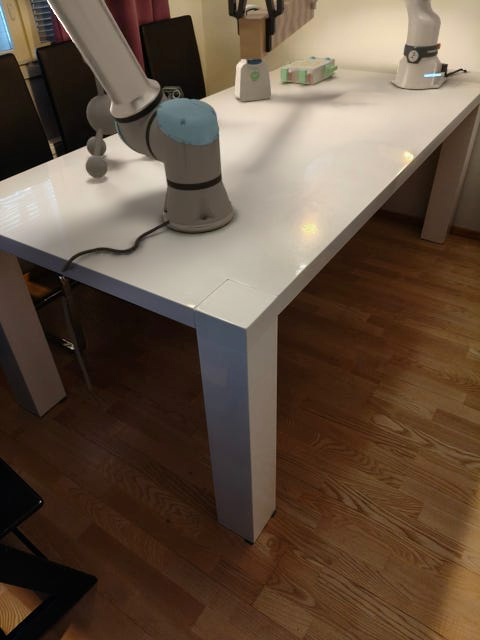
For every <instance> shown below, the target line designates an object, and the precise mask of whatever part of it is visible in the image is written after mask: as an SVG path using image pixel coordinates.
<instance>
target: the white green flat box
mask: <svg viewBox="0 0 480 640" xmlns="http://www.w3.org/2000/svg"><path fill="white" fill-rule="evenodd" d="M285 63H286V64H285V65H283V67H282V68H280V82H287V83H296V84H304V85H316V84H317V83H320V82H322V81H324V80H326V79H329V78H331V77H332V75H333V74H335V72H336V71H337V70H338V65H336V58H330V57H315V56H310V57H308V58H305V59H299V60H296V61H293V62H291V61H286V62H285Z"/></svg>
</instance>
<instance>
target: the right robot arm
mask: <svg viewBox="0 0 480 640" xmlns="http://www.w3.org/2000/svg"><path fill="white" fill-rule="evenodd" d="M318 1H319V0H315V1H314V2H313V3H311V10H314V11H315V10H316V9H317V3H318ZM402 1H403V3H404V5H405V8H406V11H407V18H408V21H407V22H408V23H407V24H408V25H407V35H406V42H405V44H404V47H403V53H402V54H403V57H402V58H400V60H399V62H398V66H397V71H396V75H395V79H392V80H391V83H392V84H394V85H395V86H396V87H398V88H402V89H407V90H408V89H409V90H427V89H438V88H440V87H441V86H442V85H443V84H444V83H445V82H446V80H447V77H448V76H452V75H454V74H457V73H459V72H463V73H468V71H467V69H465V70H463V69H462V68H459V69H456V70H454V71H451V72H448V67H449V64H448V63H443V62H441V60H440V58H439V57H438V55H439V50H440V49H441V43H440V42H438V41H439V36H440V32H441V31H440V30H441V25H442V24H441V23H442V22H441V17H440V16H439V15H438V13H436V12H435V11H434V10H433V7H432V4H431V3H432V2H431V1H432V0H402ZM442 73H444V74H443V75H442Z"/></svg>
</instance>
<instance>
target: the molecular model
mask: <svg viewBox="0 0 480 640" xmlns="http://www.w3.org/2000/svg"><path fill="white" fill-rule="evenodd" d="M81 59H82V60H83V62H84V63H85V64H86V65H87V66H88V67H90V66H89V65H88V63H87V62H86V60H85V59H84V57H83V56H82V55H81ZM93 75H94V80H95V85H96V90H97V95H96V96H94V97H93V98H91V99H90V101H89V102H88V104H87V107H86V118H87V121H88V123H89V126H90V127H91V128H92V129H93V130H94V131H95V136H91V137H89V139H88V140H87V142H86V149H87V151H88V153H89V154H90V155H91V156H90V157H88V158H87V159H86V162H85V170H86V172H87V174H88V175H89V176H90V177H92V178H96V179H100V178H103V177H104V176H106V175H107V172H108V163H107V161H106V160H105V159H104V158H103V157H102V156H103V155H105V154H106V152H107V144H106V141H105V140H104V135H106V136H109V135H114V134H117V130H116V127H115V122H116V120H115V118H114V117H113V115H112V114H111V111H110V108H111V103H112V100H111V99H110V97H109V96H108V94H105V90H104V88H103V87H102V85H101V83H100V82H99V80H98V79H97V77H96V76H95V74H94V73H93ZM146 157H147V158H149V157H148V156H146Z"/></svg>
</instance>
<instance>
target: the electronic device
mask: <svg viewBox="0 0 480 640" xmlns="http://www.w3.org/2000/svg"><path fill="white" fill-rule="evenodd" d="M261 8H262V7H261V6H259V5H256V4H246V9H245V16H246V15H248V12H251V11H253V12H255V11H257V10H259V9H261ZM264 59H265V57H263V58H262V59H241V58H240V60H239V62H238V63H237V64H236V68H235V69H236V70H235V80H234V82H235V83H234V95H235V96H236V97H237V99H239V100H240V101H241V102H242V103H244V102H251V101H261V100H268V99H270V97H271V95H272V89H271V78H270V68H269V64H268V63H267V62H266V61H265V60H264Z"/></svg>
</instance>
